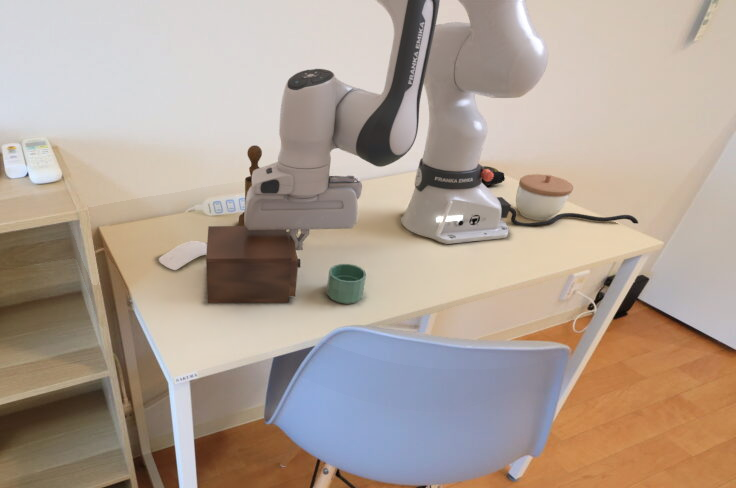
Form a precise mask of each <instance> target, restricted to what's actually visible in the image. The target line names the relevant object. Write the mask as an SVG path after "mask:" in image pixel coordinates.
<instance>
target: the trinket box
mask: <svg viewBox="0 0 736 488" xmlns="http://www.w3.org/2000/svg"><path fill="white" fill-rule="evenodd" d="M573 189H574V185H573V183H571V182H570V181H568V180H566V179H564V178H562V177H559V176H554V175H552V174H539V173H536V174H527V175H524V176H522V177H520V179H519V181H518V186H517V189H516V194H515V205H516V207H517V209H518V211H519V214H520V216H522V217H523V218H526V219H527V220H528V219H529V220H532V221H548V220H549V218H552V217H553V216H556V215H558V213H559V212H560V211H561V210H562V209H563V208H564V207H565V205H566V203H567V202H568V200H569V198H570V195H571V193H572V192H573Z"/></svg>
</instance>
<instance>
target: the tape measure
mask: <svg viewBox="0 0 736 488" xmlns="http://www.w3.org/2000/svg"><path fill="white" fill-rule="evenodd" d="M482 166H483V167H484V168H485V169H489V170H490V171H491V172H493V174H494V175H493V176H494V177H492V178H493V179H490V180H491V181H488V182H487V181H485V180H484V179H483V178H482V183H483V184H484V185H485V186H486V187H489V186H493V185H498V184H501V183H503V182H505V179H506V177H505V173H504V172H502V171H499V170H498V169H497V168H495V167H492V166H486V165H482Z"/></svg>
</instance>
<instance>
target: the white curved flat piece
mask: <svg viewBox="0 0 736 488" xmlns="http://www.w3.org/2000/svg"><path fill="white" fill-rule="evenodd" d="M206 253H207V242H203V241H200V240H190V241H186V242H184V243H181V244H179V245H177V246H175V247H173V248H172V249H170V250H169V251H168V252H166V253H164V254H163V255H160V256H159V258H158V262H159V263H160V264H161V265H163V266H164V267H166V268H168V269H169V270H172V271H177V270H179V269H181V267H183V266H185V265H186V264H187V263H190V262H191V261H193V260H195V259H197V258H199V257H202V256H206Z"/></svg>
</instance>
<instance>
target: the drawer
mask: <svg viewBox="0 0 736 488" xmlns="http://www.w3.org/2000/svg"><path fill="white" fill-rule="evenodd" d="M287 236H288V241H289V246H290V251H291V256H292V263H291V277H290V290H289V297H296V291H297V280H298V279H297V278H298V269H299V268H301V264H302V262H301V258H298V254H297V250H296V248H295V244H294V239H292V237H291V235H290V231H289V230H287Z"/></svg>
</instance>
